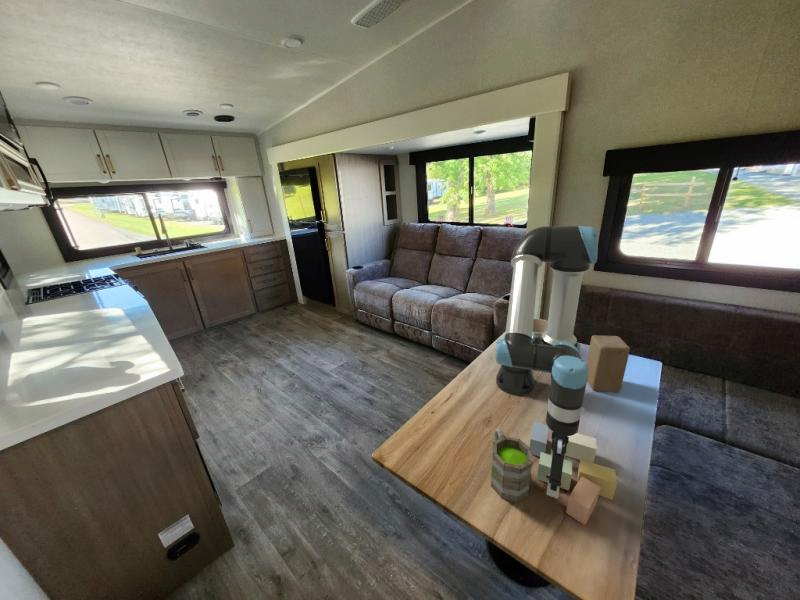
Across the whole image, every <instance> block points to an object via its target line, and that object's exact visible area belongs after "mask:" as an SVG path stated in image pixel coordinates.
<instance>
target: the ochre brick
mask: <svg viewBox="0 0 800 600" xmlns="http://www.w3.org/2000/svg"><path fill="white" fill-rule="evenodd" d="M577 471H578V472H577V482H578V481H579V480H580V478H581V477H582V476H583V477H584V478H586V479H588V480H589V481H591V482H593V483H594V484H596V485H598V486H599V487H601V488H600V493H599V496H601V497H603V498H606V499H610V500H612V501H613V500H614V496H615V491H616V488H617V485H618V483H617V474H616V470H615V469H613V468H610V467H606V466H604V465H600V464H598V463H595V462H594V463H591V462H588V461H585V460H582V459H581V460H579V465H578V470H577Z"/></svg>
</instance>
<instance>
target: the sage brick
mask: <svg viewBox="0 0 800 600" xmlns="http://www.w3.org/2000/svg"><path fill="white" fill-rule="evenodd" d="M551 462H552V455H551V454H549V453H546V452H545V453H543V452H541V453H540V457H539V461H538V469H537V477H536V479H537V480H538V481H542V482H544V483H546V484H548V478H546V475H548V476H549V474H550V470H551ZM572 476H573V461H571V460H567V459H564V461H563V469H562V477H561V486H560V488H561V489H563V490H567V491H570V487H571V482H572ZM560 488H559V489H560Z"/></svg>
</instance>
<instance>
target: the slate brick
mask: <svg viewBox="0 0 800 600" xmlns="http://www.w3.org/2000/svg"><path fill="white" fill-rule="evenodd" d="M549 429H550V428H549V427H548V426H547V424H544V423H541V422H538V421H533V424H532V429H531V434H530V441H529V447H530V448H531V449H532V456H536V457H539V458H540V453H541V452H543V453H546V449H547V445H548V444H547V443H548V435H549Z"/></svg>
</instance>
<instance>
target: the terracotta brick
mask: <svg viewBox="0 0 800 600" xmlns="http://www.w3.org/2000/svg"><path fill="white" fill-rule="evenodd" d="M600 488H601V487H599V486H598V485H596V484H594V483H593V482H591V481H589V480H588V479H586V478H584V477H583V476H582V477H581V478H580V480H579V481H578V480H577V483H576V485H575V486H574V487H573V489H572V492H571V493H570V494H569V497H568V501H567V506H566V511H565V513H566V514H567V515H569V516H570V517H572V518H573V519H575V520H576V521H577V522H579V523H580V524H582V525H583V526H586V525H587V523H588V521H589V519H590V517H591V515H592V513H593V512H594V510H595V508H596V506H597V504H598V500H599V496H600V495H599V493H600Z"/></svg>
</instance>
